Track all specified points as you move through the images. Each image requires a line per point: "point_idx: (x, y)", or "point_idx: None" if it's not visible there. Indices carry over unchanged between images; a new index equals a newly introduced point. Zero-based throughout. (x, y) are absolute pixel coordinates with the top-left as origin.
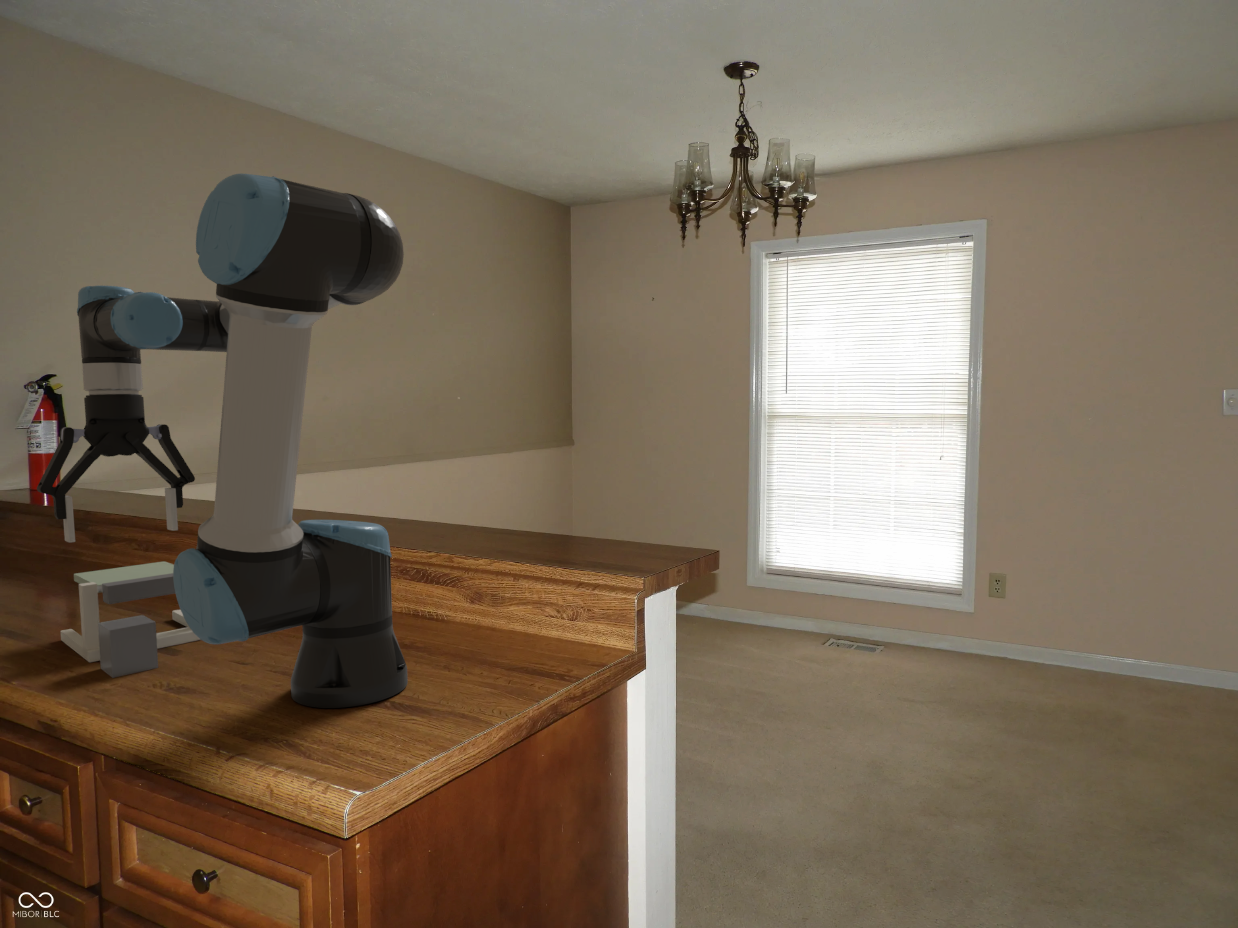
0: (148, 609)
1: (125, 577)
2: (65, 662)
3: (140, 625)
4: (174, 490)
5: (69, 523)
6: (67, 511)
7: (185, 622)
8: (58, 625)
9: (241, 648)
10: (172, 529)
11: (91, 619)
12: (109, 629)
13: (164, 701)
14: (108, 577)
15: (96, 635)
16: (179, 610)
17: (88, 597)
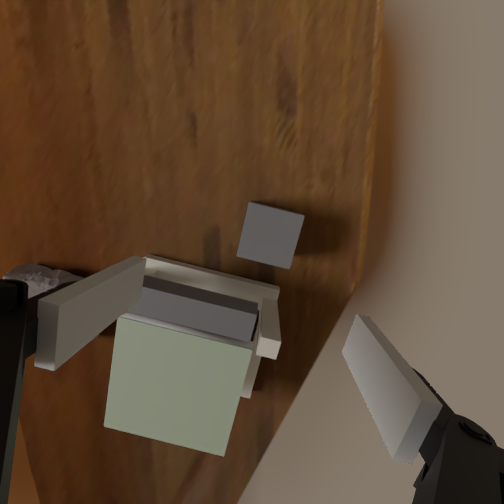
0: None
1: (199, 365)
2: (291, 309)
3: (267, 206)
4: (50, 297)
5: (386, 341)
6: (408, 366)
7: None
8: None
9: (161, 181)
10: (145, 261)
11: (270, 314)
12: (302, 220)
13: (318, 73)
14: (212, 388)
15: (266, 304)
16: None
17: (273, 329)
